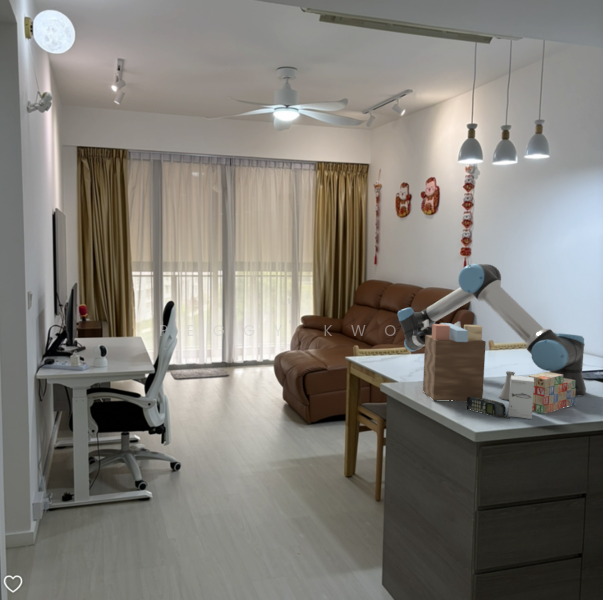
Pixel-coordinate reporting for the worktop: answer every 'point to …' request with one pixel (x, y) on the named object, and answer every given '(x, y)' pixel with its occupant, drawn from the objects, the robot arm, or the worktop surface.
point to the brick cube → (440, 331)
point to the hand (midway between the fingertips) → (443, 323)
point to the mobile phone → (486, 406)
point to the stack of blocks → (552, 392)
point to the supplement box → (521, 397)
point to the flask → (506, 386)
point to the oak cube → (474, 332)
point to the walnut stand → (453, 369)
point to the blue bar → (457, 333)
